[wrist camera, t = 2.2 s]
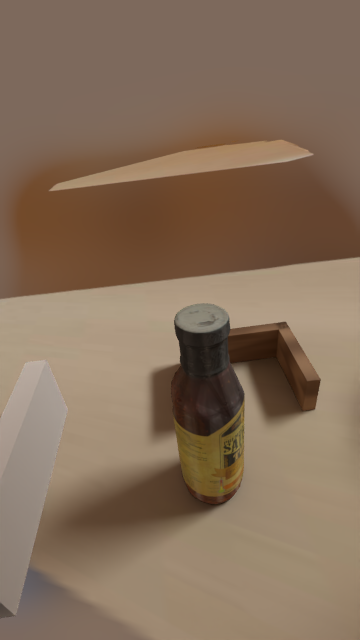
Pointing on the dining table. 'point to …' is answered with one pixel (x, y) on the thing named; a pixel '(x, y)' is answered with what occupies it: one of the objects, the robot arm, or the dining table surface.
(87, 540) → the dining table surface
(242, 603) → the dining table surface
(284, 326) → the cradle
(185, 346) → the sauce bottle
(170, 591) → the dining table surface
